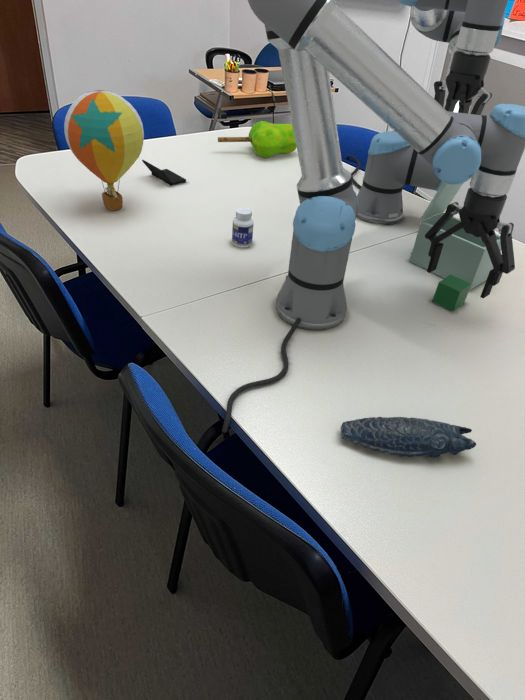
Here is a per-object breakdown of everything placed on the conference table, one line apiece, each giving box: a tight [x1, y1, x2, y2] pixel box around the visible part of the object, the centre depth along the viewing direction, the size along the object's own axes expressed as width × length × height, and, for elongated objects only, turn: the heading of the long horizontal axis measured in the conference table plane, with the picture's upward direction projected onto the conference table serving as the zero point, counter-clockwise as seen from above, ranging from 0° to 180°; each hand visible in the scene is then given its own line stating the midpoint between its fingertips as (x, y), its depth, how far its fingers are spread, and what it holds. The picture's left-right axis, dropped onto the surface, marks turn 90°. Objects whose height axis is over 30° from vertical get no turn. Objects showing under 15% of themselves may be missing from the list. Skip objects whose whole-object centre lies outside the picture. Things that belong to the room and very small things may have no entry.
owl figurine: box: [340, 416, 477, 458], centre depth 82 cm, size 7×21×5 cm, turn 84°
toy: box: [63, 89, 145, 212], centre depth 136 cm, size 20×20×30 cm
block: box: [431, 275, 471, 312], centre depth 118 cm, size 5×5×5 cm
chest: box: [409, 212, 502, 292], centre depth 129 cm, size 17×10×11 cm, turn 43°
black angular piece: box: [141, 159, 187, 187], centre depth 162 cm, size 12×7×10 cm
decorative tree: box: [217, 120, 297, 159], centre depth 187 cm, size 18×10×30 cm
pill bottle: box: [231, 207, 255, 248], centre depth 132 cm, size 5×5×9 cm
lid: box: [420, 182, 464, 221], centre depth 124 cm, size 18×10×8 cm
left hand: (457, 282), depth 116 cm, fingers open, 13 cm apart
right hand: (440, 164), depth 123 cm, fingers closed on lid, 2 cm apart
